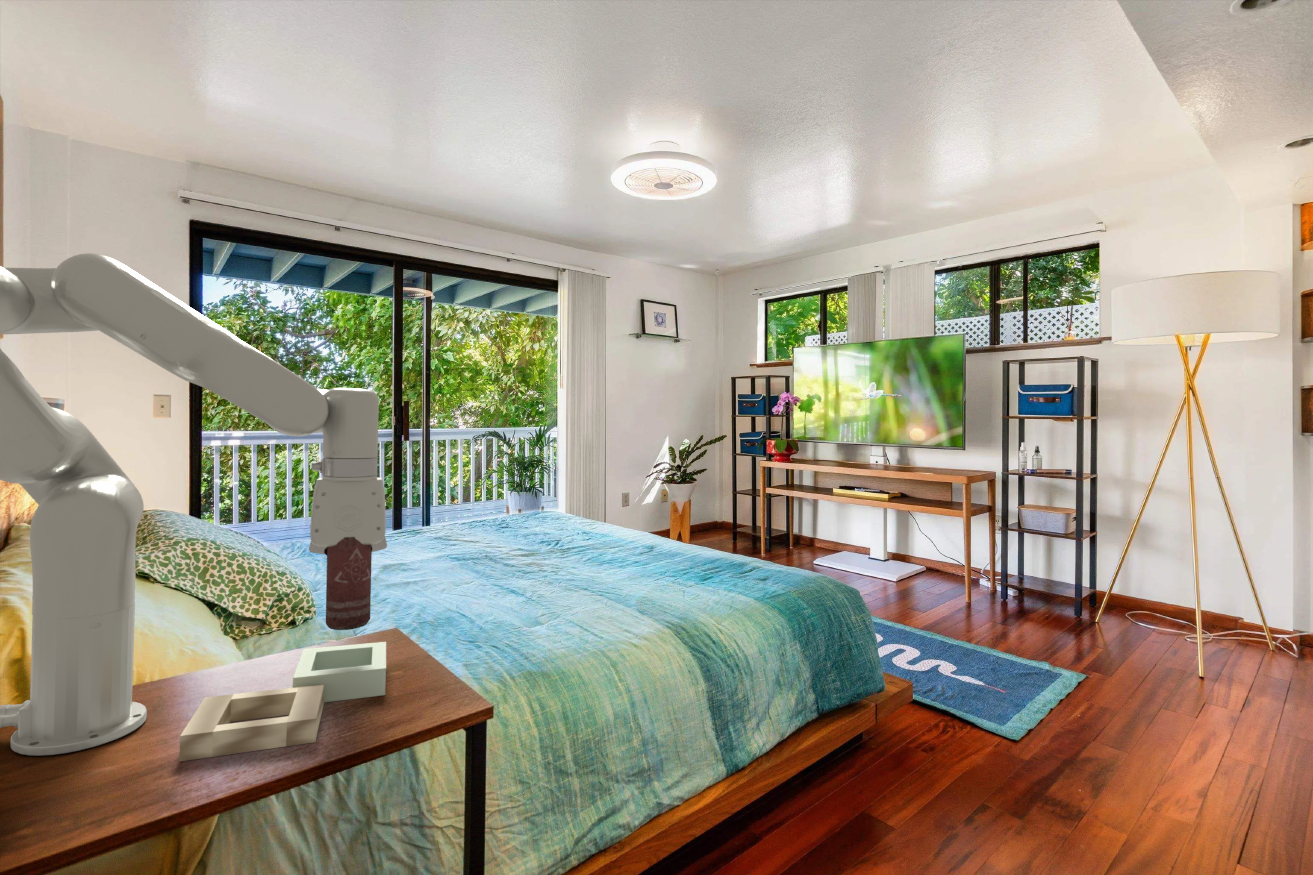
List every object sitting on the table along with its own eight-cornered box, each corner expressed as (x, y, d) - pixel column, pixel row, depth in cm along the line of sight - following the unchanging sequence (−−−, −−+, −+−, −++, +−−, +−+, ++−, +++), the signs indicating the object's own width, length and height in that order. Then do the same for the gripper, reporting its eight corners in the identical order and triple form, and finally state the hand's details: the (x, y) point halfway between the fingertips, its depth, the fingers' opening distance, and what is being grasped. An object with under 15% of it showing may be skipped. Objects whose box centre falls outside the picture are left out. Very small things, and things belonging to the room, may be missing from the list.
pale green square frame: (292, 706, 88) (293, 677, 88) (302, 674, 99) (303, 648, 99) (385, 694, 93) (386, 668, 93) (385, 665, 104) (386, 641, 104)
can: (378, 618, 99) (380, 530, 98) (355, 631, 92) (357, 537, 92) (342, 616, 99) (344, 528, 99) (316, 629, 93) (318, 535, 93)
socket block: (179, 761, 73) (180, 735, 73) (204, 719, 83) (205, 697, 83) (315, 742, 78) (316, 718, 78) (323, 705, 88) (324, 684, 88)
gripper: (290, 471, 89) (288, 599, 89) (403, 471, 95) (401, 591, 95) (297, 467, 96) (295, 586, 96) (402, 467, 102) (400, 579, 102)
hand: (348, 588), depth 96 cm, fingers closed
